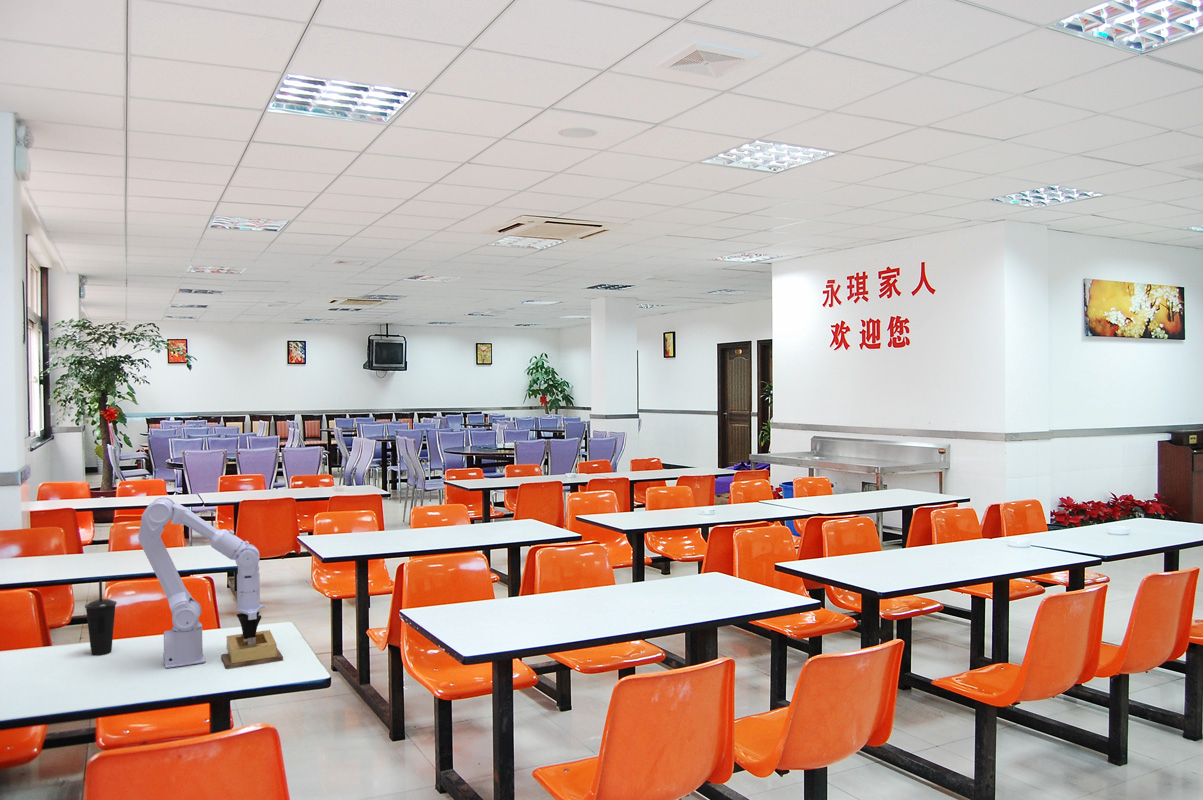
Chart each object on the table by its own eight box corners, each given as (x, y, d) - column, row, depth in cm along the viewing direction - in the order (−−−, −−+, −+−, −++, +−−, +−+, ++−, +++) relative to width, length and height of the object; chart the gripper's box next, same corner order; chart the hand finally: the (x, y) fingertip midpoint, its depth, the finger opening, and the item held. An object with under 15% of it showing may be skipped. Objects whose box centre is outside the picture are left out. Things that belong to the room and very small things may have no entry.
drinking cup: (123, 649, 242) (122, 578, 242) (101, 657, 235) (100, 584, 235) (101, 648, 244) (100, 577, 244) (78, 656, 237) (77, 583, 237)
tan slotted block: (231, 663, 225) (231, 650, 224) (226, 648, 234) (226, 636, 234) (276, 656, 230) (276, 643, 230) (269, 642, 239) (269, 630, 239)
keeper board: (225, 669, 224) (225, 647, 224) (221, 658, 233) (220, 637, 233) (283, 660, 230) (282, 639, 230) (276, 650, 240) (275, 629, 240)
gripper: (268, 593, 231) (269, 644, 231) (260, 584, 244) (260, 632, 244) (239, 597, 228) (240, 648, 228) (233, 587, 240) (233, 636, 240)
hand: (249, 640), depth 236 cm, fingers closed on tan slotted block, 2 cm apart
